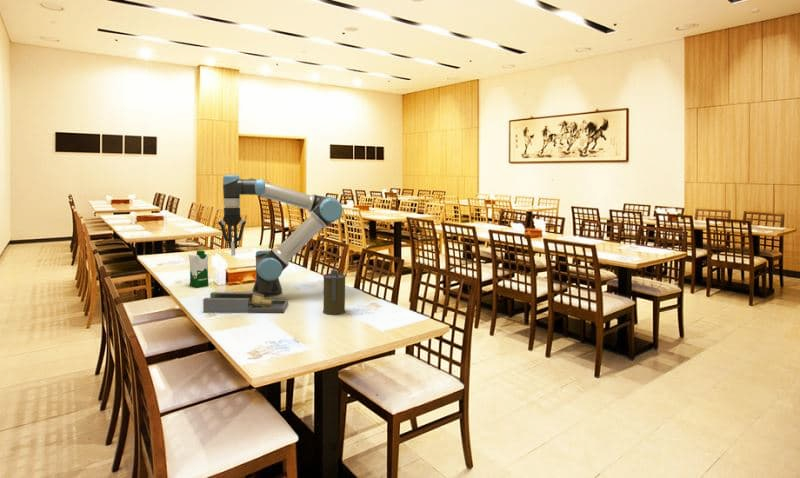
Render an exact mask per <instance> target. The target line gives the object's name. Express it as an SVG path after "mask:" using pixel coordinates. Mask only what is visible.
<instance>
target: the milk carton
mask: <svg viewBox="0 0 800 478" xmlns="http://www.w3.org/2000/svg"><path fill="white" fill-rule="evenodd" d="M187 255H188V261H189V287H191V288H195V289H200V288H205V287H209V267H208V266H209V264H208V263H209V255H210V254H208V253H205V250H201V249H200V250H197V251H196V253H189V254H187Z"/></svg>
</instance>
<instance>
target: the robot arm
mask: <svg viewBox="0 0 800 478" xmlns="http://www.w3.org/2000/svg"><path fill="white" fill-rule="evenodd" d="M222 188H223V191H222V193H223V196H222V197H223V218H222V220H220V221H218V222H217V223H218V225H219V226H220V229H221V232H222V236H223V239H224V241H226V242H227V243H228V249H230V251H231V254H230V255H231V256H236V249H238V242H240V241H242V237H243V233H244V227H245V225H246V224H247V221H246V220H244V219H242V216H241V207H240V206H241V196H242V195H243V196H245V195H246V196H247V195H249V196H253V195H254V196H260V197H262V198H267V199H270V200H273V201H277V202H280V203H284V204H286V205H287V204H288V205H291V206H294V207H298V208H302V209H305V210H307V212H309V213H310V216H309V217H308V218H307V219H306V220H304V222H303V223H302V224H300V225H299V226H298V227H297V228H296V229H295V230H294V231H293V232H292V233H291V234H290V235H289V236H288V237H287V238H286V239H285V240H284V241H283V242H282V243H281V244H280V245H279V246H278V247H277V248H271V249H270V250H257V251H256V252H255V280H254V284H253V288H252V293H255V292H256V293H260V294H263V295H264V297H275V296H279V295H281V294H282V293H283V288H282V285H281V282H280V279H279V278H280V276H281V275H282V273H283V271H284V270H285V269H286V268H287V267H288V266H289V265H290V264H289V262H290V260H291V259H292V258H293V257H295V255H297V253H298V252H300V250H302V249H303V248H304V247H305V245H307V244H308V242H309V241H311V239H312V238H313V237H315V235H316V234H318V233H319V232H320V231H321V230H322V229H323V228H329V226H330V225H332V223H333V222H335V221H338V220H339V219H340V218H341V217H342V215H343V205H342V203H341V202H340V201H339V200H338V199H337V198H334V197H330V196H325V195H323V196H322V195H317V194H314V193H313V194H311V195H310V194H306V193H303V192H300V191H298V190H297V191H296V190H293V189H290V188H286V187H282V186H280V185H279V186H278V185H276V184H272V183H269V182H265V180H264V179H260V178H257V179H256V178H253V177H250V178H248V179H244V178H240V175H239V174H238V175H237V174H225V175H224V176H223V177H222ZM225 224H226V226H227V230H226V227H225ZM239 224H240V228H239V233H238V226H239ZM227 231H228V232H227ZM232 231H233V232H232ZM232 234H233V235H232ZM232 236H233V238H232Z"/></svg>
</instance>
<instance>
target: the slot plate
mask: <svg viewBox="0 0 800 478" xmlns="http://www.w3.org/2000/svg"><path fill="white" fill-rule="evenodd" d="M253 294H254V293H253V292H243V291H242V292H241V291H239V292H233V291H232V292H231V291H230V292H229V291H227V292H226V291H225V292H224V291H223V292H222V291H221V292H217V291H214V292H213V291H211V292H210V297H204V298H203V299H202V305H203V306H202V308H203V309H202V310H203V311H202V312H203V313H223V314H225V313H228V314H229V313H230V314H232V313H236V314H237V313H238V314H240V313H241V314H245V313H247V314H249V313H248V308H249V306H250V305H251V304H250V303H251V299H252V295H253Z"/></svg>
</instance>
